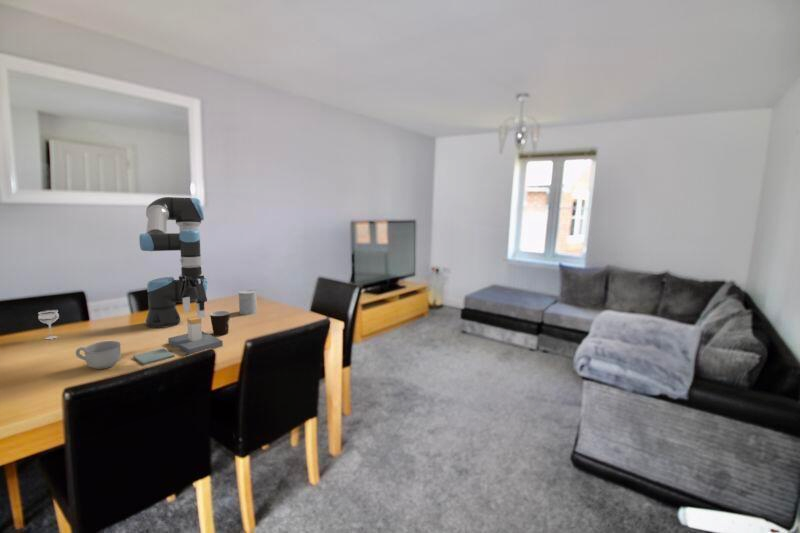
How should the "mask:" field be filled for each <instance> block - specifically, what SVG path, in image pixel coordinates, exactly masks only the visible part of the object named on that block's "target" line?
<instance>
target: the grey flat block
mask: <svg viewBox="0 0 800 533" xmlns="http://www.w3.org/2000/svg"><path fill="white" fill-rule="evenodd" d="M167 340H168V344H169V345H170V346H172V347H173V348H176V349H177V350H179V351H181V352H183V353H185V354H186V355H188V356H190V355H189V354H192V353H195V352H198V351H202V350H205V349H209V348H214V349H217V348H221V347H223V343H224V342H223V340H222V339H220V338H218V337H215V335H211V334H209V333H207V332H204V331H203V330H202V340H198V341H194V342H191V341H189V340H188V333H184V334H181V335H176V336H170V337H168V339H167ZM195 354H196V353H195ZM192 355H193V354H192Z"/></svg>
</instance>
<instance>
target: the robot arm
mask: <svg viewBox="0 0 800 533" xmlns="http://www.w3.org/2000/svg"><path fill="white" fill-rule="evenodd" d="M203 211H204V210H203V204H202V202H201V200H200V199H199V198H196V197H180V196H179V197H177V196H176V197H173V196H172V197H171V196H166V197H165V196H164V197H160V198H157V199H155V200H154V201H152V202H151V203H149V204H148V206H147V208H146V212H145V216H146V217H147V224H146V232H144V233H140V234H139V238H138V239H139V248H140V250H141V251H142V252H162V251H163V252H164V251H165V252H167V251H168V252H169V251H180V259H179V261H180V265H181V268H180V269H181V270H180V272H181V273H180V274H179V275H178V279H175V278H174V277H173V276H165V277H160V278H155V279H151V280H149V281H148V282H147V288H146V289H147V290H146V292H147V303H148V305H147V306H148V312H147V315H146V318H145V326H146V327H147V328H166V327H173V326H175V325H177V324H180V323H181V315H180V314H179V312H178V309H177V307H176V303H182V313H189V312H191V302H196V307H197V308H196V310H197V311H196V312H197V313H196V314H197V317H198V318H201V319H202V318H205V317H206V315H205V314H206V311H205V303H206V302H208V297H207V289H208V278H207V277H205V274H204V273H202V266H201V265H202V255H201V254H202V253H201V234H200V231H199V227H200V226H201V224H202V221H204V220H205V216H204V212H203ZM168 221H175V224H176V225H177V226H178V228H179V232H176V233H175V232H174V233H172V232H171V233H167V222H168Z"/></svg>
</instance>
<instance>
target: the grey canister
mask: <svg viewBox="0 0 800 533" xmlns="http://www.w3.org/2000/svg"><path fill="white" fill-rule="evenodd" d="M257 292H258V291H257V290H255V289H254V290H253V289H243V290H240V291H238V304H239V306H238V307H239V308H238V309H239V314H240V315H244V316H249V315H255V314H257V313H258V304H257V303H258V301H257Z"/></svg>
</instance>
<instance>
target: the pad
mask: <svg viewBox="0 0 800 533" xmlns="http://www.w3.org/2000/svg"><path fill="white" fill-rule="evenodd" d="M175 357H176V356H175V354H174V353H172V352H171V351H169V350H167V349H165V348H163V347H162V348H158V349H155V350H151V351H150V350H149V351H147V352H143V353H138V354H134V355H132V358H133V359H134V360H136V361H137V362H138V363H139V364H141V365H143V366H146V365H149V364H153V363H157V362H160V361H164V360H167V359H172V358H175Z"/></svg>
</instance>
